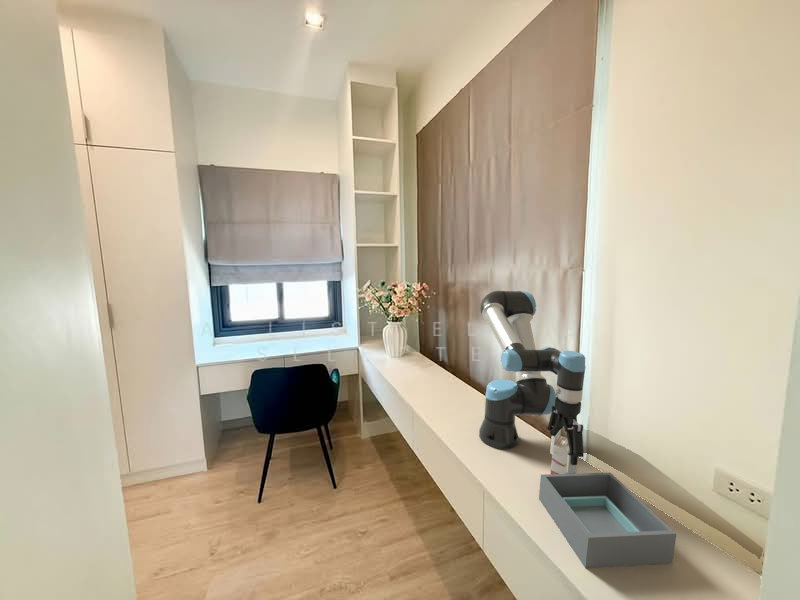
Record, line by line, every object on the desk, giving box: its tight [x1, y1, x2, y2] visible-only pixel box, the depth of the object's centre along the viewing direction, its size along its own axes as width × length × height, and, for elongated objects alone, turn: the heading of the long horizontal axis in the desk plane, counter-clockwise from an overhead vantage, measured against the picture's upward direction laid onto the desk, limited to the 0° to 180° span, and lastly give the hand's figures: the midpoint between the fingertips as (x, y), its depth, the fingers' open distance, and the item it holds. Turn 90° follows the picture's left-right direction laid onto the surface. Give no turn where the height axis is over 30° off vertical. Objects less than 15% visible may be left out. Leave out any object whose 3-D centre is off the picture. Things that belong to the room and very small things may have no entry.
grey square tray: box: [538, 472, 677, 569], centre depth 87 cm, size 22×22×8 cm
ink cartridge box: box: [550, 429, 571, 474], centre depth 108 cm, size 9×5×15 cm, turn 141°
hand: (562, 462), depth 108 cm, fingers closed on ink cartridge box, 9 cm apart
